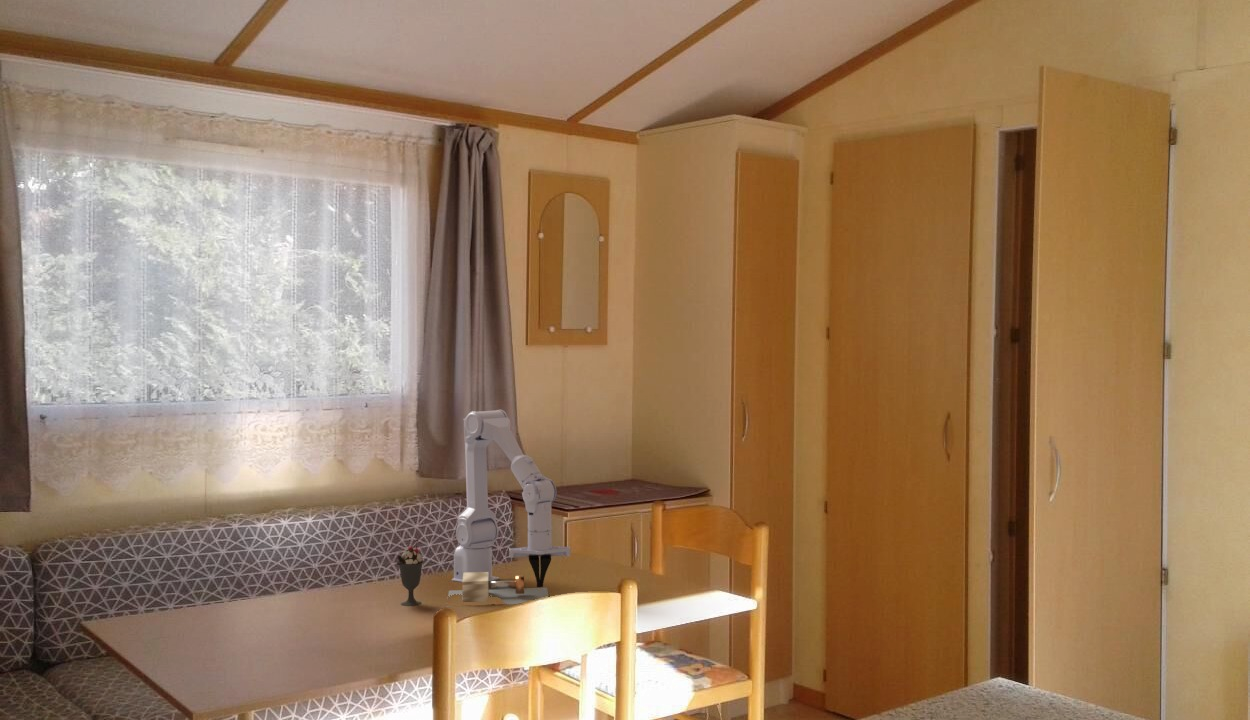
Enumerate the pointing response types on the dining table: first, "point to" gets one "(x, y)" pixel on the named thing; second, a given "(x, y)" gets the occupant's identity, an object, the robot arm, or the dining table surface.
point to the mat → (512, 594)
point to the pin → (509, 584)
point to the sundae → (410, 572)
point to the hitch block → (475, 587)
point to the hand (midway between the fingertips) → (540, 586)
